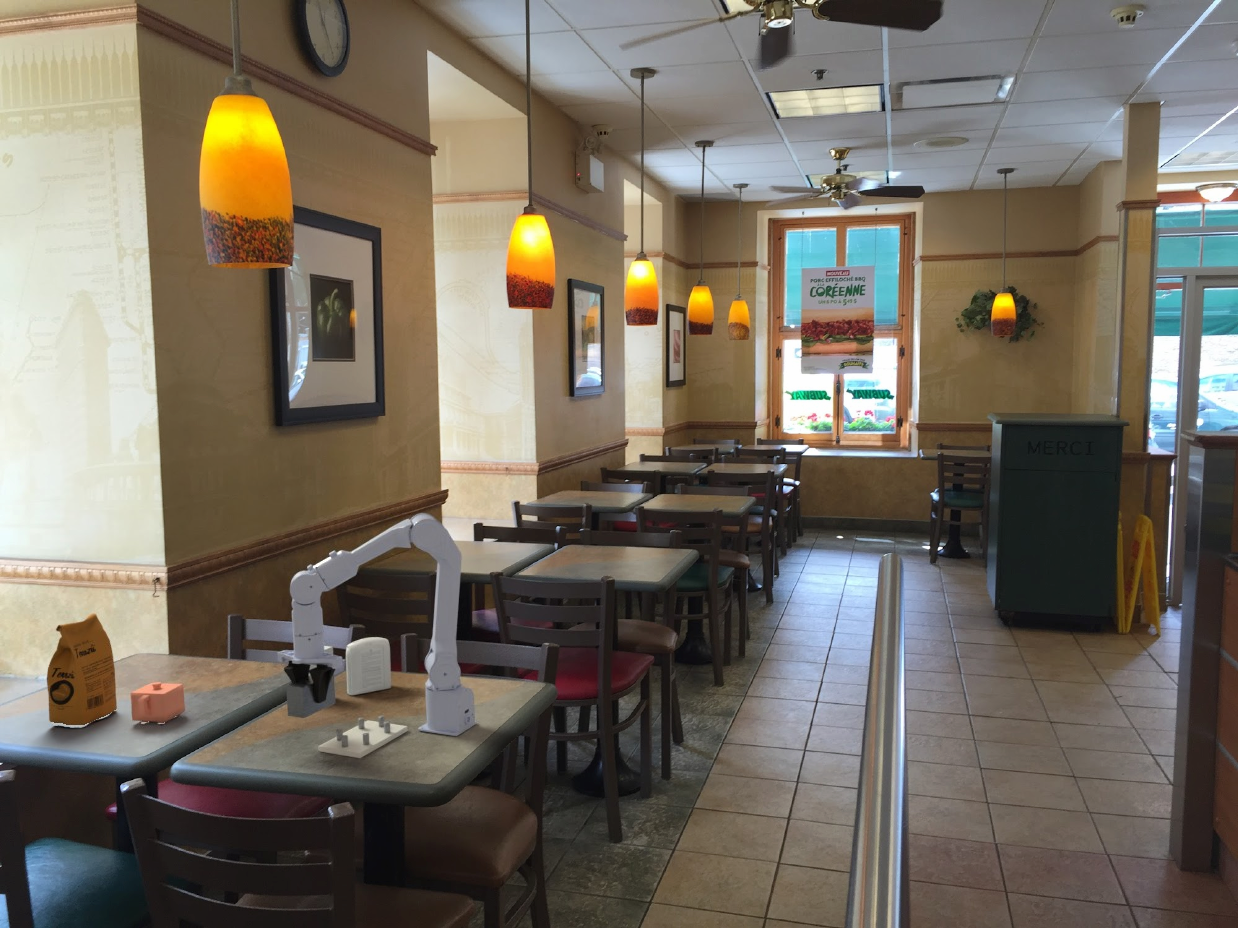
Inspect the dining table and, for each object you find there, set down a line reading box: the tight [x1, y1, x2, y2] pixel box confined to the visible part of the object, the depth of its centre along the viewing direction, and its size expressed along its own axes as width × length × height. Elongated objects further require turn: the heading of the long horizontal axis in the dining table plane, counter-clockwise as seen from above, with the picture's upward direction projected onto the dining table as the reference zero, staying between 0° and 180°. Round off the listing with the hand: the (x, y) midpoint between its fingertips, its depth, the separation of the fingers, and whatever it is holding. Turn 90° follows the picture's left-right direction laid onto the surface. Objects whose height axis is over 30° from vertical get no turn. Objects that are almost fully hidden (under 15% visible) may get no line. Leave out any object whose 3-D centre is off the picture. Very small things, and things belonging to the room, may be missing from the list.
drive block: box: [285, 673, 336, 719], centre depth 189 cm, size 4×9×6 cm, turn 156°
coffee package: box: [46, 613, 118, 725], centre depth 206 cm, size 10×12×22 cm
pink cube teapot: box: [130, 681, 186, 724], centre depth 205 cm, size 8×12×8 cm, turn 170°
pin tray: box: [317, 715, 408, 759], centre depth 190 cm, size 10×15×3 cm, turn 156°
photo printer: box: [345, 636, 392, 696], centre depth 221 cm, size 10×4×12 cm, turn 123°
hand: (312, 700), depth 189 cm, fingers closed on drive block, 4 cm apart
